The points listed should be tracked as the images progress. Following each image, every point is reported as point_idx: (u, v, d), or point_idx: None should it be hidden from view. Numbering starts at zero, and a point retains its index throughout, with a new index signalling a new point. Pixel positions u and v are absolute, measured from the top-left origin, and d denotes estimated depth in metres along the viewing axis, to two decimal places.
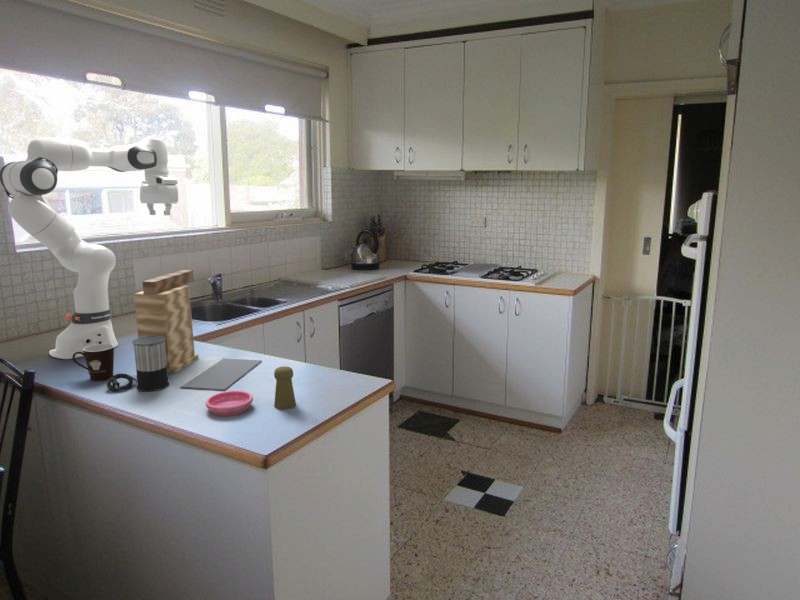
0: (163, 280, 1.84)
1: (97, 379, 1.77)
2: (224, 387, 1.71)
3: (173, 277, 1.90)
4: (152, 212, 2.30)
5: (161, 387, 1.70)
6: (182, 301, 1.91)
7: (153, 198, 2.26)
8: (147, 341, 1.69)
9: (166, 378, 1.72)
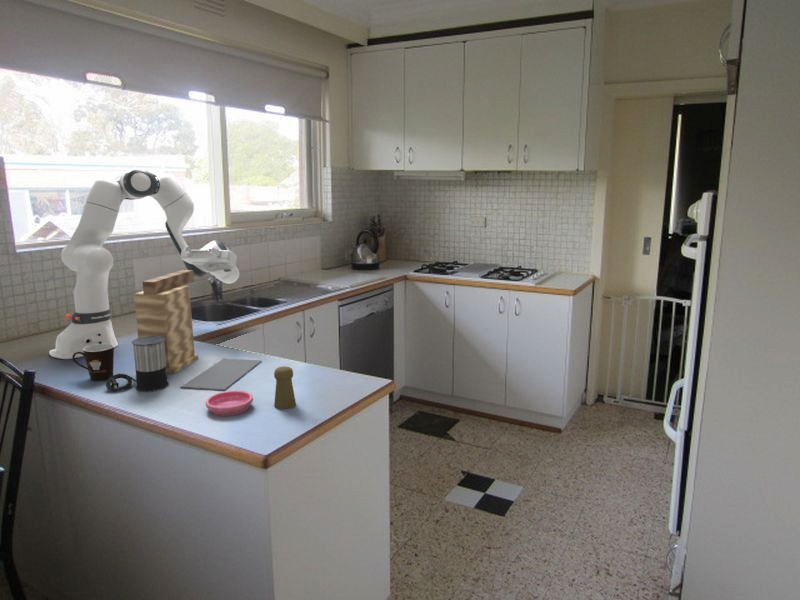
0: (163, 280, 1.84)
1: (97, 379, 1.77)
2: (224, 387, 1.71)
3: (173, 277, 1.90)
4: (189, 248, 2.11)
5: (160, 387, 1.70)
6: (182, 301, 1.91)
7: None
8: (147, 341, 1.69)
9: (165, 378, 1.72)
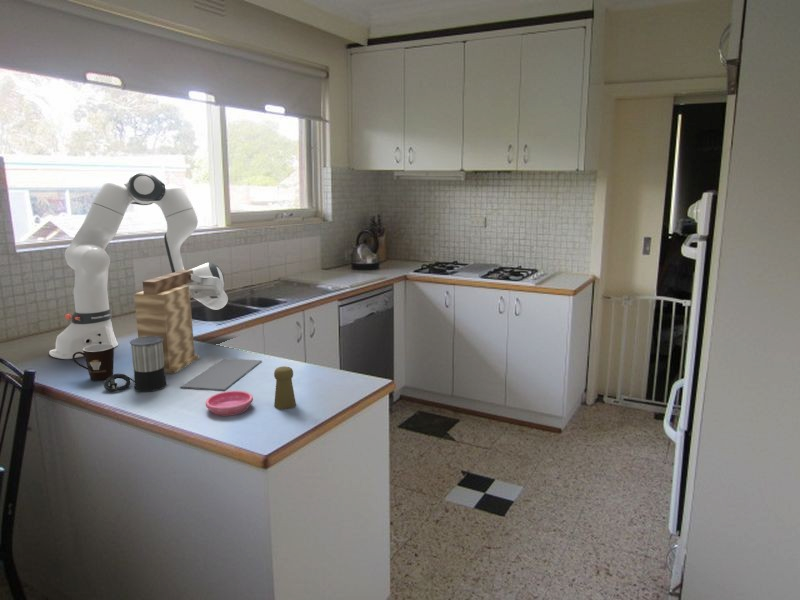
0: (163, 280, 1.84)
1: (97, 379, 1.77)
2: (224, 387, 1.71)
3: (173, 277, 1.90)
4: None
5: (158, 388, 1.70)
6: (182, 301, 1.91)
7: None
8: (145, 341, 1.68)
9: (163, 379, 1.72)
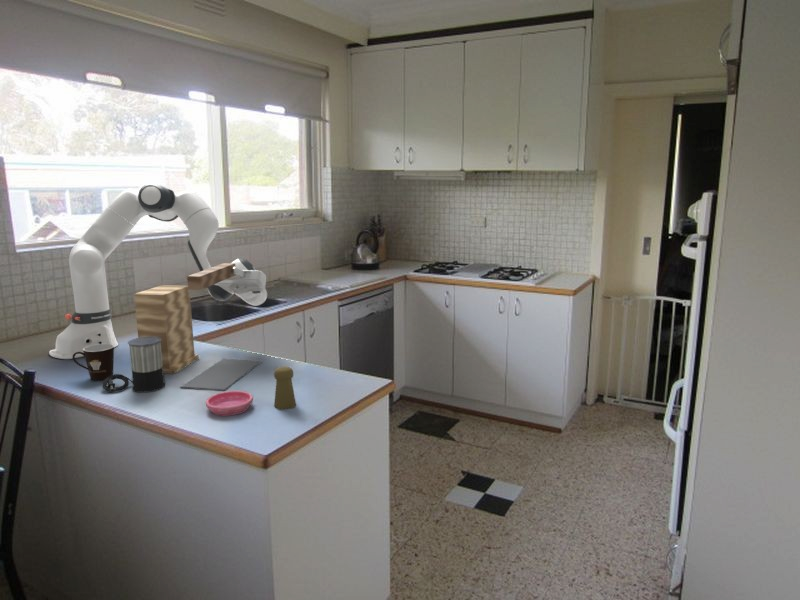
0: (208, 274, 1.71)
1: (97, 379, 1.77)
2: (224, 387, 1.71)
3: (217, 271, 1.77)
4: None
5: (156, 388, 1.69)
6: (182, 301, 1.91)
7: None
8: (143, 341, 1.68)
9: (162, 379, 1.72)
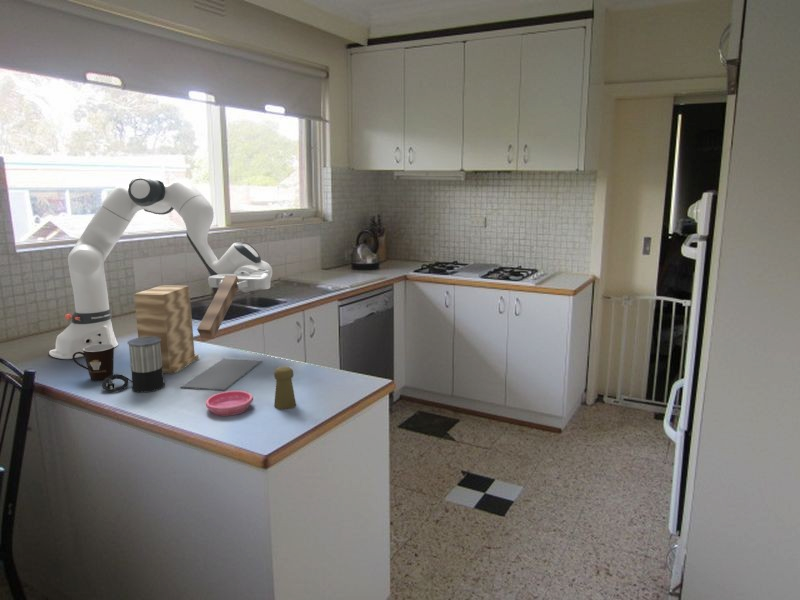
0: (216, 318, 1.73)
1: (97, 379, 1.77)
2: (224, 387, 1.71)
3: (223, 304, 1.77)
4: None
5: (156, 388, 1.69)
6: (182, 301, 1.91)
7: None
8: (142, 341, 1.68)
9: (161, 379, 1.71)
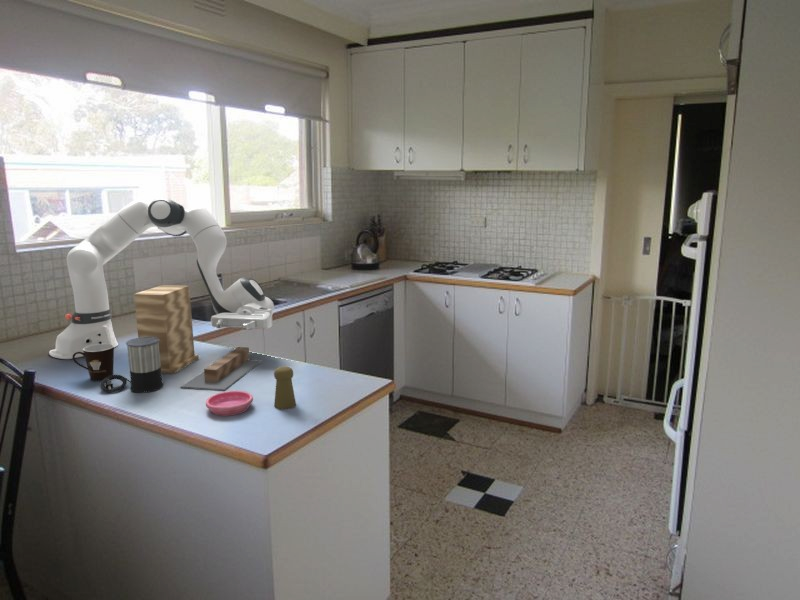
0: (224, 365, 1.79)
1: (97, 379, 1.77)
2: (224, 387, 1.71)
3: (232, 360, 1.85)
4: (221, 324, 1.89)
5: (154, 389, 1.69)
6: (182, 301, 1.91)
7: (237, 316, 1.94)
8: (141, 342, 1.68)
9: (160, 379, 1.71)
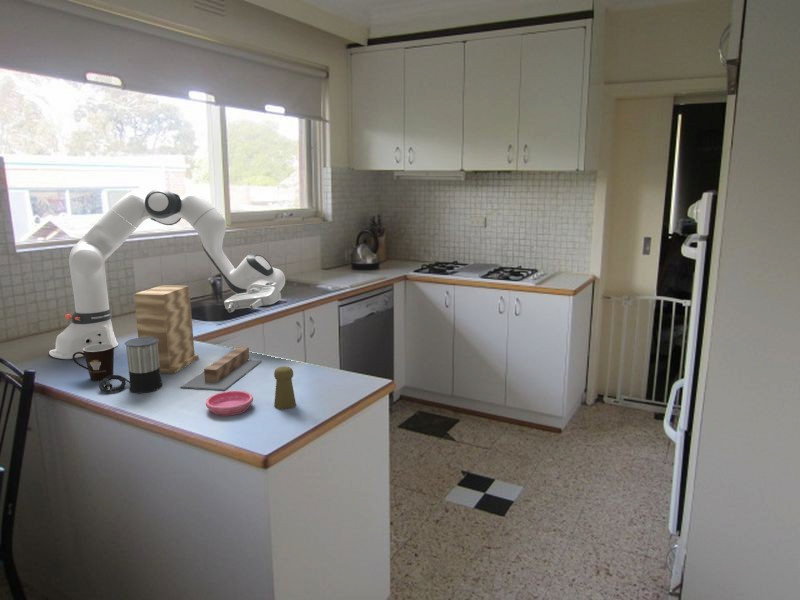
0: (224, 365, 1.79)
1: (97, 379, 1.77)
2: (224, 387, 1.71)
3: (232, 360, 1.85)
4: (231, 307, 2.01)
5: (153, 389, 1.69)
6: (182, 301, 1.91)
7: (246, 296, 2.05)
8: (140, 342, 1.68)
9: (159, 380, 1.71)
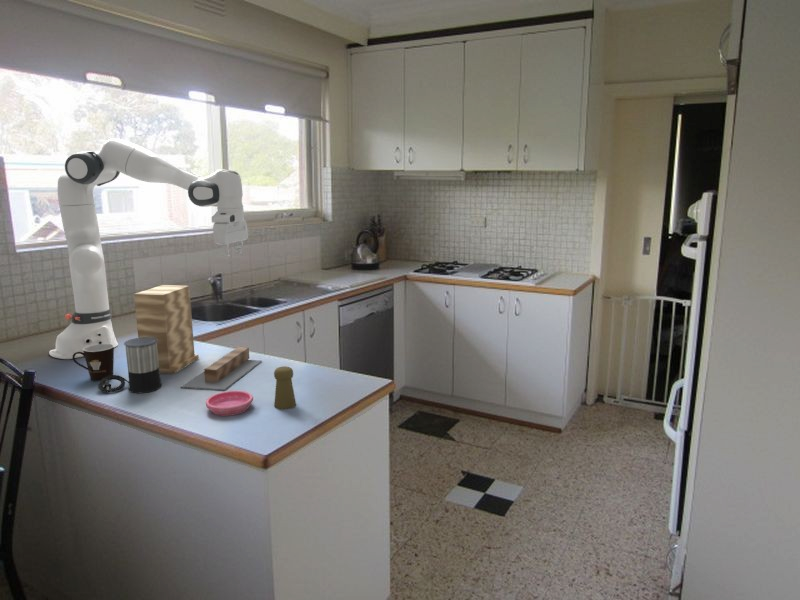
0: (224, 365, 1.79)
1: (97, 379, 1.77)
2: (224, 387, 1.71)
3: (232, 360, 1.85)
4: (236, 250, 2.08)
5: (153, 389, 1.69)
6: (182, 301, 1.91)
7: None
8: (139, 342, 1.67)
9: (158, 380, 1.71)
